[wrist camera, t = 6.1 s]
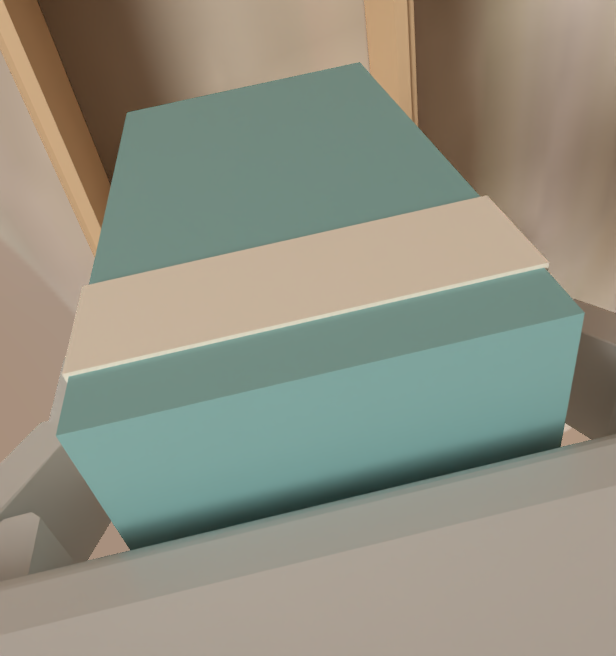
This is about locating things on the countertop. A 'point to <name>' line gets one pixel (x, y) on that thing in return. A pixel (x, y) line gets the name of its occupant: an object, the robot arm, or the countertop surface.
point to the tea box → (301, 314)
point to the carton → (70, 127)
